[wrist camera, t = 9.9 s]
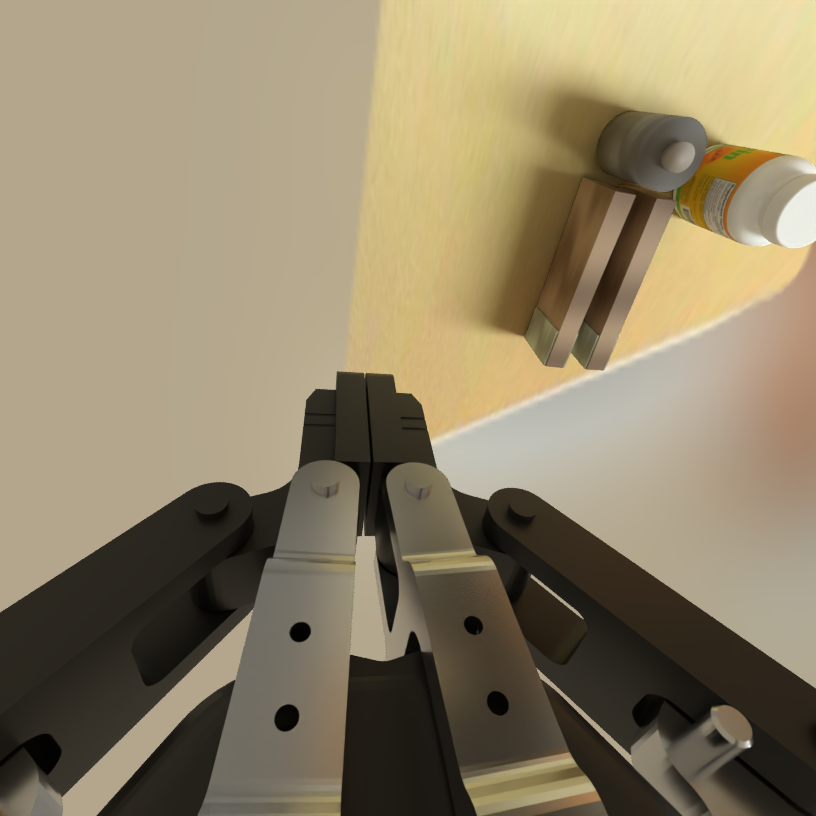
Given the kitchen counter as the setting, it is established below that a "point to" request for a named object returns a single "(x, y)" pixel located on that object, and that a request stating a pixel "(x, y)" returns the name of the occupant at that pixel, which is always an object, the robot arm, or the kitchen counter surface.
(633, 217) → the tongs frame
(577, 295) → the tong arm
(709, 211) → the supplement bottle
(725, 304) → the kitchen counter surface
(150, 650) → the robot arm
